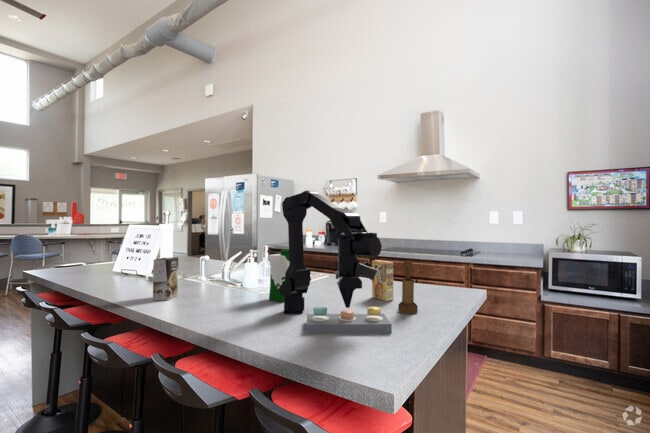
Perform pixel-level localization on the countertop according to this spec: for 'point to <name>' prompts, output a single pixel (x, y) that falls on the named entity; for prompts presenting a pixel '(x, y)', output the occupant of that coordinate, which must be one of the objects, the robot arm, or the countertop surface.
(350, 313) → the terracotta button
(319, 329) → the button console
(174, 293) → the coffee box
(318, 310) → the teal button
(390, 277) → the candy box
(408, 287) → the brown stepped post
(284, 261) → the milk carton
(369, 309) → the mustard button
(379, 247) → the robot arm
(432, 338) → the countertop surface
